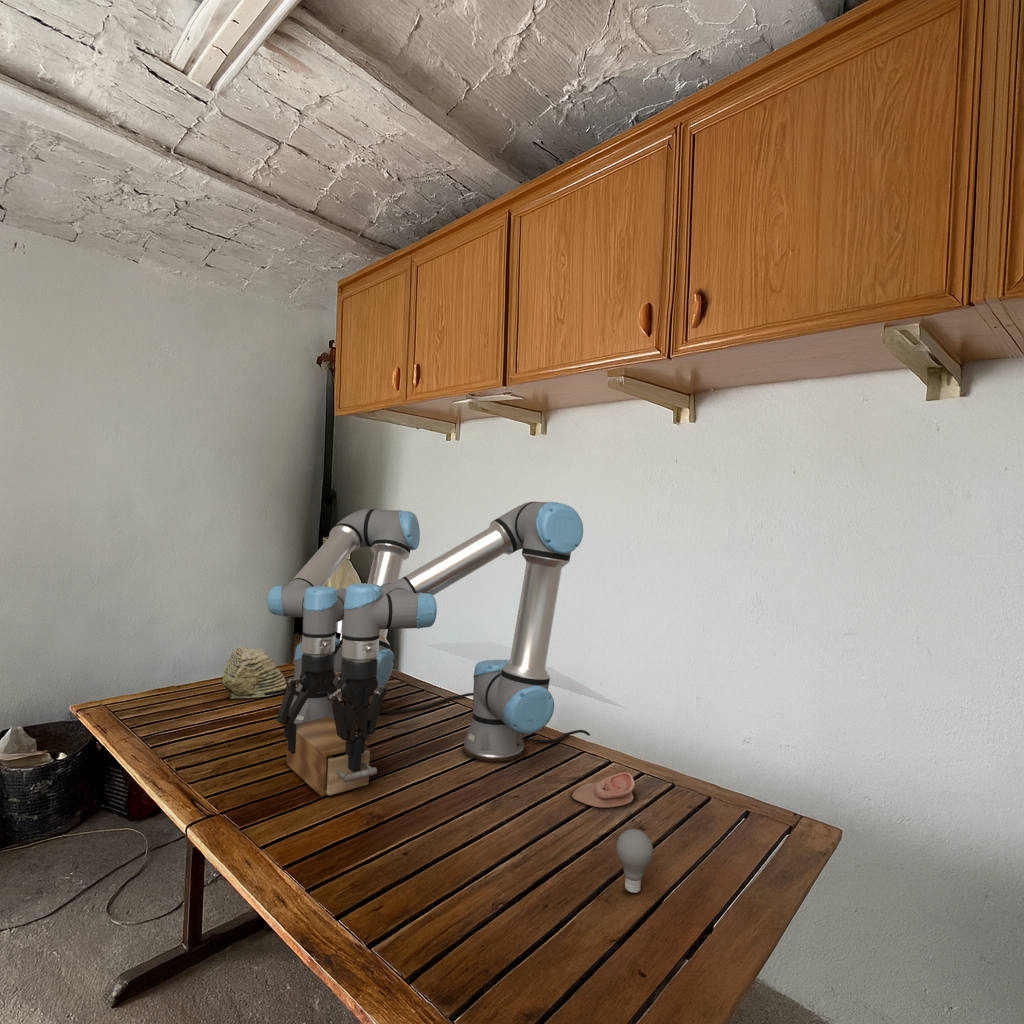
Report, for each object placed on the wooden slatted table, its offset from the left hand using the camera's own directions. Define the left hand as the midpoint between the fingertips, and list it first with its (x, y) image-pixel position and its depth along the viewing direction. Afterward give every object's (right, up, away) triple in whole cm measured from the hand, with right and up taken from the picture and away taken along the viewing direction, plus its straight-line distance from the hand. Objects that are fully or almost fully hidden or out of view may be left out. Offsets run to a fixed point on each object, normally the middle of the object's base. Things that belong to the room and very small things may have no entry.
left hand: (314, 746), depth 149 cm
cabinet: (+4, -5, -5) cm, 7 cm away
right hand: (+13, +1, -16) cm, 21 cm away
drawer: (+8, -4, -9) cm, 12 cm away
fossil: (-34, -2, +49) cm, 59 cm away
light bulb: (+67, -8, -44) cm, 80 cm away
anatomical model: (+67, -8, -10) cm, 68 cm away
